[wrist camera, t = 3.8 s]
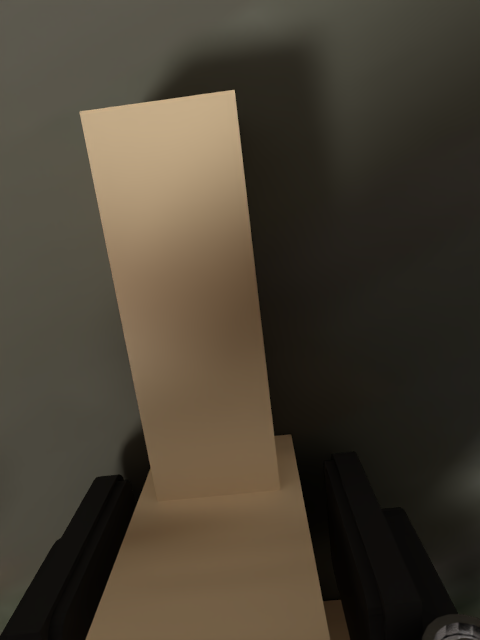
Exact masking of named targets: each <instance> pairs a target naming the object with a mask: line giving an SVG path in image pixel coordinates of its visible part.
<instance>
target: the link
mask: <svg viewBox="0 0 480 640" xmlns="http://www.w3.org/2000/svg"><path fill="white" fill-rule="evenodd" d="M80 116H81V121H82V126H83V131H84V136H85V141H86V146H87V151H88V156H89V161H90V166H91V171H92V176H93V181H94V186H95V191H96V196H97V201H98V206H99V211H100V216H101V221H102V226H103V231H104V236H105V241H106V246H107V251H108V256H109V261H110V266H111V272H112V277H113V282H114V287H115V292H116V297H117V302H118V307H119V312H120V317H121V322H122V327H123V332H124V337H125V342H126V347H127V352H128V357H129V362H130V367H131V372H132V377H133V382H134V387H135V392H136V397H137V402H138V407H139V412H140V417H141V422H142V427H143V432H144V437H145V442H146V447H147V452H148V457H149V462H150V467H151V468H150V471H149V474H148V476H147V479H146V482H145V484H144V487H143V489H142V492H141V495H140V497H139V500H138V503H137V505H136V508H135V511H134V513H133V516H132V518H131V521H130V524H129V526H128V529H127V532H126V534H125V537H124V540H123V542H122V545H121V547H120V550H119V553H118V555H117V558H116V561H115V563H114V566H113V569H112V571H111V574H110V577H109V579H108V582H107V584H106V587H105V590H104V592H103V595H102V598H101V600H100V603H99V606H98V608H97V611H96V613H95V616H94V619H93V621H92V624H91V627H90V629H89V632H88V635H87V637H86V640H350V636H349V632H348V628H347V624H346V620H345V615H344V611H343V607H342V603H341V600H332V601H323V599H322V594H321V589H320V583H319V578H318V573H317V568H316V562H315V557H314V552H313V547H312V541H311V536H310V531H309V526H308V520H307V515H306V510H305V505H304V499H303V494H302V489H301V484H300V478H299V473H298V468H297V463H296V457H295V452H294V447H293V442H292V436H291V434H290V435H280V436H274V429H273V421H272V412H271V403H270V394H269V386H268V377H267V368H266V359H265V351H264V342H263V333H262V324H261V316H260V307H259V298H258V289H257V281H256V272H255V263H254V255H253V246H252V237H251V228H250V220H249V211H248V202H247V193H246V185H245V176H244V167H243V158H242V150H241V141H240V132H239V124H238V115H237V106H236V97H235V90H229V91H222V92H215V93H208V94H201V95H194V96H187V97H180V98H172V99H165V100H158V101H151V102H144V103H137V104H130V105H123V106H116V107H109V108H102V109H95V110H88V111H81V112H80Z"/></svg>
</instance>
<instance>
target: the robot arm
mask: <svg viewBox="0 0 480 640" xmlns="http://www.w3.org/2000/svg"><path fill="white" fill-rule="evenodd" d="M324 474H325V486H326V498H327V510H328V522H329V534H330V546H331V556H332V563H333V569H334V573H335V577H336V582H337V586H338V590H339V594H340V599H341V603H342V607H343V611H344V615H345V620H346V624H347V628H348V632H349V636H350V640H480V619H479V618H476V617H472V616H468V615H464V614H458V612H457V611H456V609H455V607H454V605H453V603H452V601H451V599H450V597H449V595H448V593H447V591H446V589H445V587H444V586H443V584H442V582H441V580H440V578H439V576H438V574H437V572H436V570H435V568H434V566H433V564H432V562H431V561H430V559H429V557H428V555H427V553H426V551H425V549H424V547H423V545H422V543H421V541H420V539H419V537H418V536H417V534H416V532H415V530H414V528H413V526H412V524H411V522H410V520H409V518H408V516H407V514H406V513H405V511H404V510H403V509H402V508H401V507H398V508H387V509H381V508H380V506H379V504H378V501H377V499H376V497H375V495H374V492H373V490H372V488H371V486H370V483H369V481H368V479H367V477H366V474H365V472H364V470H363V468H362V465H361V463H360V461H359V459H358V456H357V454H356V452H346V453H336V454H332V456H331V460H329V461H324ZM135 508H136V505H135V500H134V496H133V491H132V486H131V483H130V481H129V480H123V477H122V476H121V475H111V476H101V477H96V479H95V480H94V481H93V483H92V485H91V487H90V488H89V490H88V492H87V494H86V495H85V497H84V499H83V501H82V502H81V504H80V506H79V508H78V509H77V511H76V513H75V515H74V516H73V518H72V520H71V522H70V523H69V525H68V527H67V529H66V530H65V532H64V534H63V536H62V537H61V538H60V539H59V540H57V541H56V542H55V544H54V545H53V546H52V548H51V550H50V551H49V553H48V555H47V557H46V558H45V560H44V562H43V563H42V565H41V567H40V569H39V570H38V572H37V574H36V575H35V577H34V579H33V581H32V582H31V584H30V586H29V587H28V589H27V591H26V593H25V594H24V596H23V598H22V599H21V601H20V603H19V605H18V606H17V608H16V610H15V611H14V613H13V615H12V617H11V618H10V620H9V622H8V623H7V625H6V627H5V629H4V630H3V632H2V634H1V635H0V640H86V637H87V635H88V632H89V629H90V627H91V624H92V621H93V619H94V616H95V613H96V611H97V608H98V606H99V603H100V600H101V598H102V595H103V592H104V590H105V587H106V584H107V582H108V579H109V577H110V574H111V571H112V569H113V566H114V563H115V561H116V558H117V555H118V553H119V550H120V547H121V545H122V542H123V540H124V537H125V534H126V532H127V529H128V526H129V524H130V521H131V518H132V516H133V513H134V511H135Z"/></svg>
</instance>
